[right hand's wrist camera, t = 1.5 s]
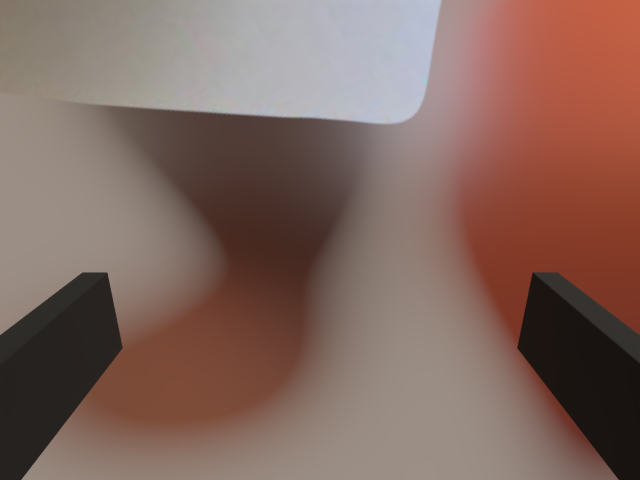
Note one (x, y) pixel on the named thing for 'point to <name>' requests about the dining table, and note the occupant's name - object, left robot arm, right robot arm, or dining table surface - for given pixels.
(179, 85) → the dining table surface
